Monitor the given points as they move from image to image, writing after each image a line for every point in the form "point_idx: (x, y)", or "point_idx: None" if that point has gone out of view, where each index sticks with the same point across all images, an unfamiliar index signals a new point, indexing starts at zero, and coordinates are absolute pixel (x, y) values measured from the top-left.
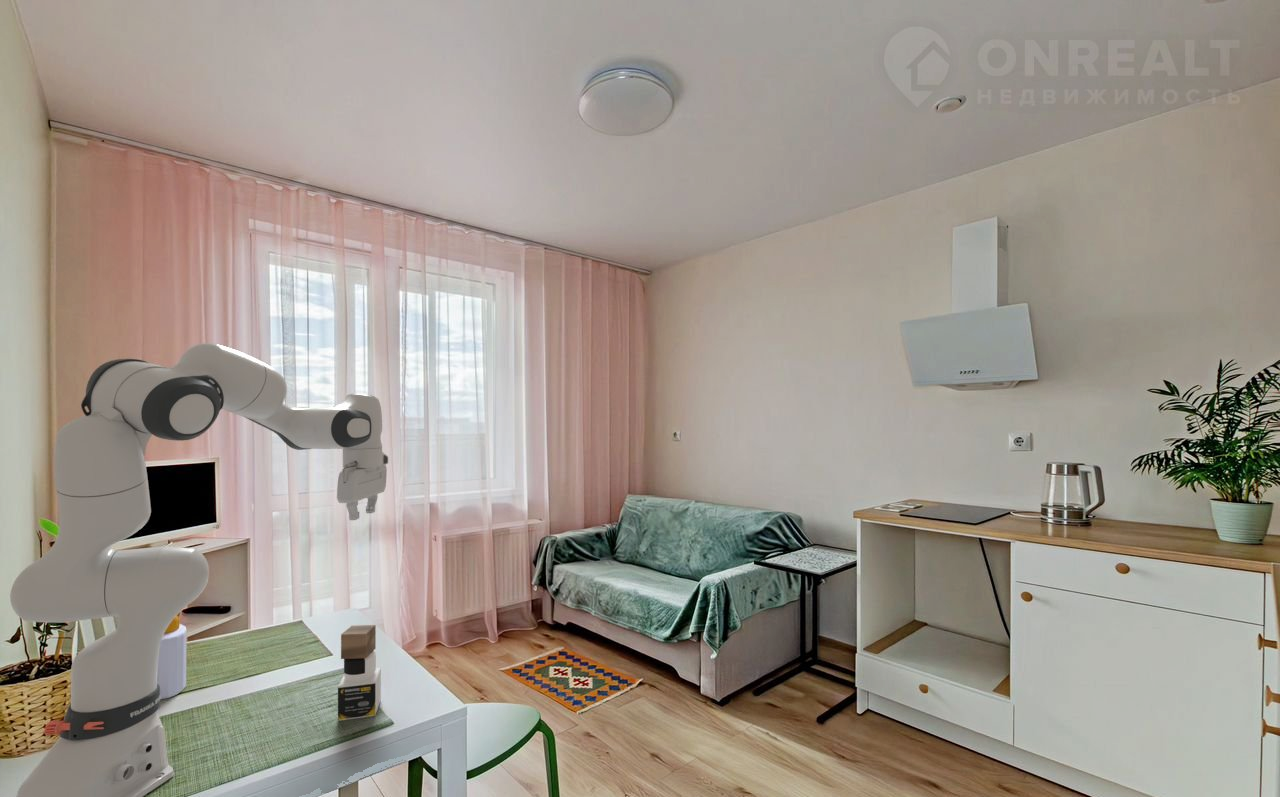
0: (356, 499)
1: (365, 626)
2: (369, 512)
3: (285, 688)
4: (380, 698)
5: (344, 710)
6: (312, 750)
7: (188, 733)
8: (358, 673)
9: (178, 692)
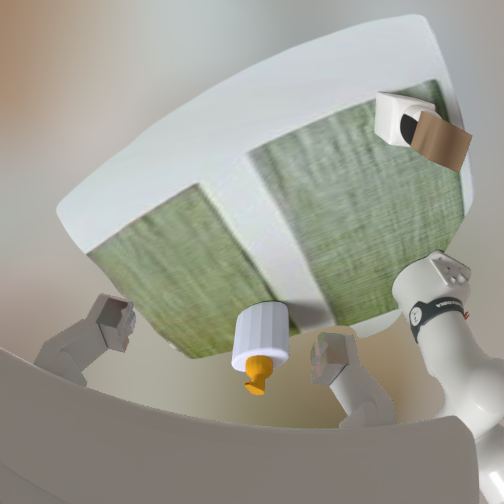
0: (438, 428)
1: (442, 136)
2: (130, 312)
3: (299, 211)
4: (382, 92)
5: None
6: None
7: (371, 265)
8: None
9: (278, 302)
